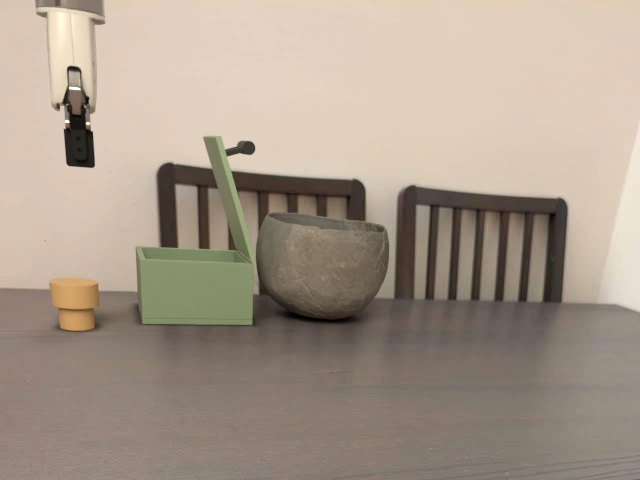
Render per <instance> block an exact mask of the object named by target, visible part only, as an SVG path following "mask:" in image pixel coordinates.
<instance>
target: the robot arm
mask: <svg viewBox="0 0 640 480" xmlns="http://www.w3.org/2000/svg"><path fill="white" fill-rule="evenodd" d="M34 5H35V14H36V16H38V17H41V18H44V19H46V20H45V21H46V23H45V25H46V27H45V28H46V49H47V51H46V52H47V64H48V75H49V77H48V78H49V86H50V87H49V88H50V89H49V90H50V103H51V107H52V109H53V110H55V111H56V112H61V107H64V108H63V110H64V127H65V128H63V138H64V139H63V141H64V152H65V163H66V165H67V166H68V167H73V168H88V169H94V168H95V167H96V157H95V141H94V131H93V130H92V126H91V124H92V123H91V115H93V114H95V113H96V109H97V99H98V98H97V97H98V96H97V95H98V63H97V62H98V61H97V43H96V42H97V41H96V26H103V25H106V11H105V10H106V8H105V0H34Z"/></svg>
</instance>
